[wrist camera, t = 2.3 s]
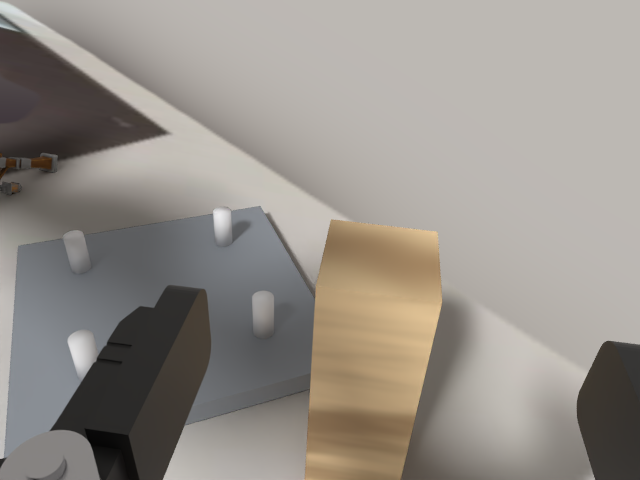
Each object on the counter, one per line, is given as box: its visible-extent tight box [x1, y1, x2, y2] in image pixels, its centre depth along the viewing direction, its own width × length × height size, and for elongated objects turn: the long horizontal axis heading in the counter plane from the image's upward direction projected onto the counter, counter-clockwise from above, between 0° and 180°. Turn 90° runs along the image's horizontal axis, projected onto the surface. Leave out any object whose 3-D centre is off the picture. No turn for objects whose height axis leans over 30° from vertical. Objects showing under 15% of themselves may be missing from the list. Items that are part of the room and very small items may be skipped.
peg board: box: [4, 206, 315, 458], centre depth 39 cm, size 20×20×4 cm
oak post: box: [305, 219, 442, 480], centre depth 28 cm, size 5×5×14 cm
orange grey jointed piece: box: [0, 153, 58, 195], centre depth 53 cm, size 2×8×4 cm, turn 162°
